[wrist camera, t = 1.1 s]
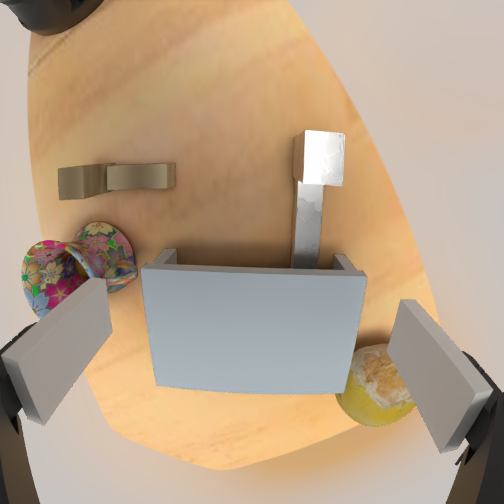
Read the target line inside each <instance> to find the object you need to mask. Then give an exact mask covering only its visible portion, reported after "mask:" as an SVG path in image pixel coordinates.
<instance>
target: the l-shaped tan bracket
mask: <svg viewBox="0 0 504 504" xmlns="http://www.w3.org/2000/svg"><path fill="white" fill-rule="evenodd" d="M174 186H175V163H159V164H135V165H118V166H115V163H106V164H94V165H84V166H75V167H67V168H59V169H58V187H59V200H71V199H86V198H89V197H92V196H96V195H99V194H103V193H106V192H110V191H113V190H130V189H168V188H171V187H174Z"/></svg>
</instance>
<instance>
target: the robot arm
mask: <svg viewBox="0 0 504 504" xmlns="http://www.w3.org/2000/svg"><path fill="white" fill-rule="evenodd" d="M102 1H103V0H0V2H1V3H3V4H5V5H7V6H8V7H9V8H10V9H11V10H12V11H13V13H14V14H15V15H16V16H17V17H18V19H19V21H20V22H21V24H22V25H23V26H24V27H25V28H26V29H28V30H30V31H32V32H35V33H37V34H40V35H52V34H56V33H59V32H62V31H64V30H67V29H69V28H70V27H72V26H74V25H76V24H77V23H79V22H80V21H81V20H83V19H84V18H85V17H87V16H88V15H89V14H90V13H91V12H92V11H93V10H95V9H96V8H97V7H98V5H99V4H100V3H101V2H102ZM111 333H112V325H111V318H110V311H109V304H108V296H107V287H106V279H102V278H94V277H91V278H90V279H89V280H87V281H86V282H85V283H84V284H82V285H81V286H80V287H79V288H77V289H76V290H75V291H74V292H73V293H71V294H70V295H69V296H68V297H67V298H65V299H64V300H63V301H62V302H61V303H59V304H58V305H57V306H56V307H55V308H53V309H52V310H51V311H50V312H49V313H48V314H46V315H45V316H44V317H43V318H42V319H41V320H39V321H38V322H36V323H34V324H32V325H30V326H27V327H26V328H24V329H23V330H22V331H21V332H20V333H19V334H18V336H15V337H14V338H13V339H12V341H10V342H9V343H7V344H6V345H5V346H4V347H3V348H2V349H1V350H0V504H40V502H39V498H38V495H37V492H36V488H35V485H34V481H33V477H32V474H31V469H30V466H29V461H28V457H27V452H26V447H25V442H24V437H23V431H22V425H21V420H20V418H19V415H18V412H19V411H20V409H21V408H23V410H24V412H25V414H26V416H27V418H28V419H29V420H31V421H34V422H36V423H39V424H41V425H43V426H45V424H46V423H47V421H48V420H49V418H50V417H51V415H52V414H53V413H54V411H55V410H56V408H57V407H58V405H59V404H60V403H61V401H62V400H63V398H64V397H65V395H66V394H67V392H68V391H69V390H70V388H71V387H72V386H73V384H74V383H75V381H76V380H77V379H78V377H79V376H80V375H81V373H82V372H83V371H84V369H85V368H86V366H87V365H88V364H89V362H90V361H91V360H92V358H93V357H94V356H95V354H96V353H97V352H98V350H99V349H100V348H101V346H102V345H103V344H104V342H105V341H106V340H107V338H108V337H109V336H110V335H111ZM387 353H388V355H389V356H390V358H391V360H392V362H393V364H394V365H395V367H396V369H397V371H398V373H399V374H400V376H401V378H402V380H403V382H404V384H405V386H406V387H407V389H408V391H409V393H410V395H411V397H412V399H413V401H414V402H415V404H416V406H417V408H418V410H419V412H420V414H421V416H422V418H423V420H424V422H425V423H426V426H427V428H428V430H429V431H430V434H431V436H432V438H433V440H434V442H435V444H436V446H437V448H438V450H439V452H440V453H445V452H448V451H452V450H456V449H458V447H459V446H460V444H461V443H462V441H463V440H464V438H466V440H467V441H468V443H469V445H468V446H467V448H466V449H465V451H464V452H463V454H462V455H461V456H460V457H459V459H458V460H457V462H456V463H455V465H458V464H459V462H460V461H461V464H460V467H459V470H458V473H457V475H456V478H455V481H454V484H453V486H452V489H451V491H450V494H449V496H448V499H447V501H446V504H504V392H503V393H502V392H501V390H500V389H499V388H498V387H497V385H496V384H495V383H494V382H493V381H492V379H491V378H490V377H489V376H488V375H487V373H485V371H484V370H483V369H482V367H480V365H479V364H478V363H477V361H476V360H475V359H474V358H473V357H472V356H470V355H469V354H467V353H466V352H464V351H461V350H460V349H459V348H458V347H457V346H456V344H455V343H454V342H453V341H452V340H451V339H450V337H449V336H448V335H447V334H446V333H445V332H444V331H443V330H442V328H441V327H440V326H439V325H438V324H437V323H436V322H435V321H434V320H433V318H432V317H431V316H430V315H429V314H428V313H427V312H426V311H425V310H424V309H423V308H422V307H421V306H420V304H419V303H418V302H417V301H416V300H410V299H401V300H400V304H399V308H398V312H397V316H396V319H395V323H394V327H393V330H392V334H391V337H390V341H389V344H388V347H387Z"/></svg>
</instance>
